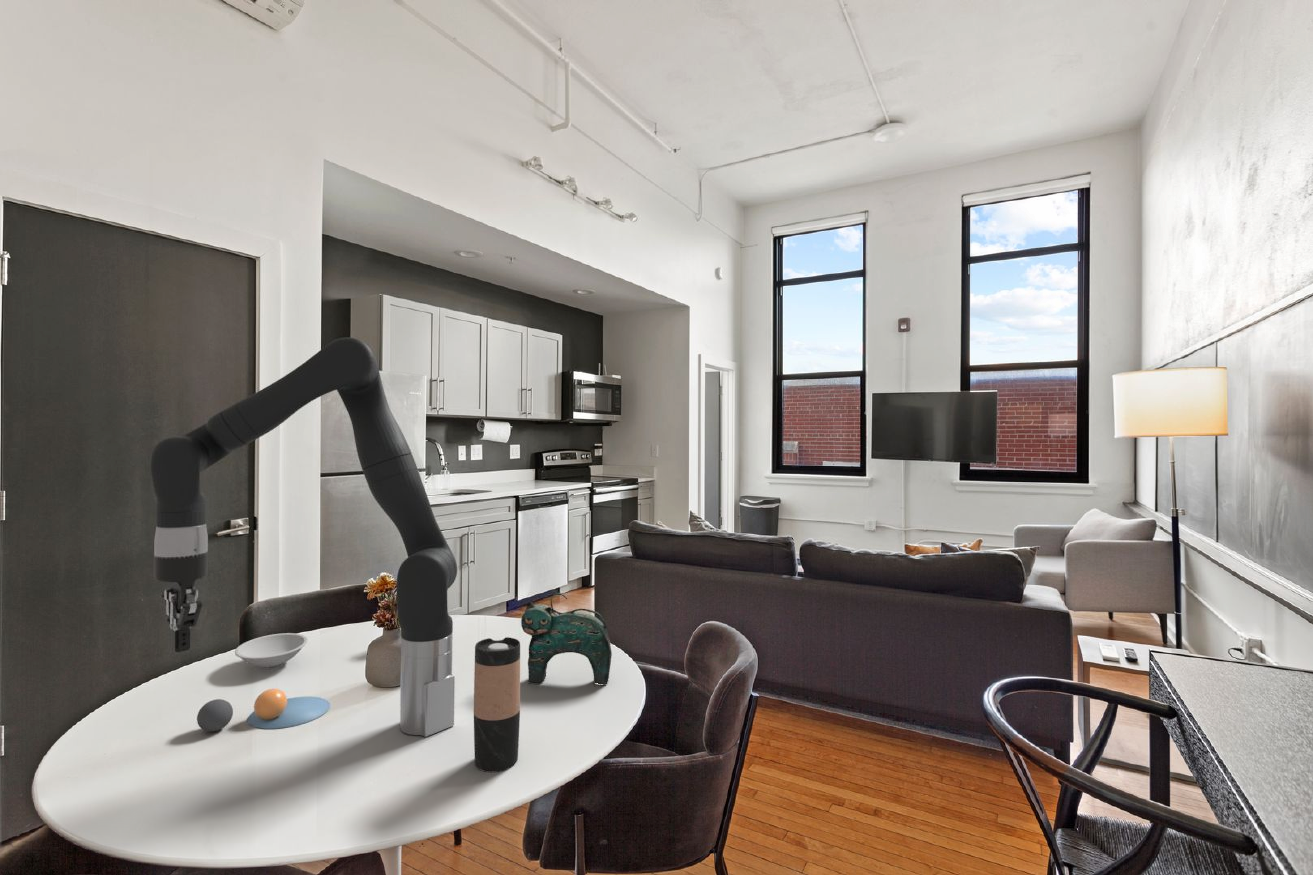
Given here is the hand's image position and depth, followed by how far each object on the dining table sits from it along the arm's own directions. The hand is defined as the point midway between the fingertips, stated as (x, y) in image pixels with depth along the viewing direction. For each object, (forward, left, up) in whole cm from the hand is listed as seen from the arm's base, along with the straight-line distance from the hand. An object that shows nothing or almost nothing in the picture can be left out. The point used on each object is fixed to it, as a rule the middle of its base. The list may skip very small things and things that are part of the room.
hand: (181, 650), depth 113 cm
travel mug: (-46, -32, -17) cm, 59 cm away
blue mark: (0, -18, -17) cm, 25 cm away
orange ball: (0, -14, -14) cm, 20 cm away
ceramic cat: (-30, -64, -17) cm, 73 cm away
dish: (+29, -26, -17) cm, 43 cm away
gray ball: (+3, -6, -14) cm, 16 cm away
